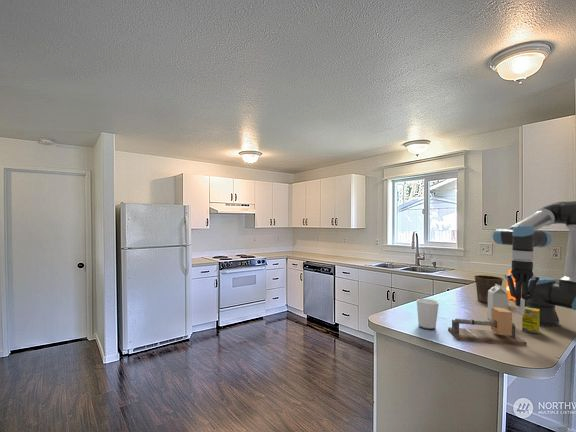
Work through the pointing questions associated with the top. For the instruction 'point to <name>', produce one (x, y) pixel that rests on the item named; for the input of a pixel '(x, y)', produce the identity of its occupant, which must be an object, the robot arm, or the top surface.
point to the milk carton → (497, 299)
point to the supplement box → (531, 320)
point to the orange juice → (508, 288)
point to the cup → (427, 313)
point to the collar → (501, 321)
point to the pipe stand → (483, 333)
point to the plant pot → (485, 286)
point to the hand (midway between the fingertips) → (520, 313)
